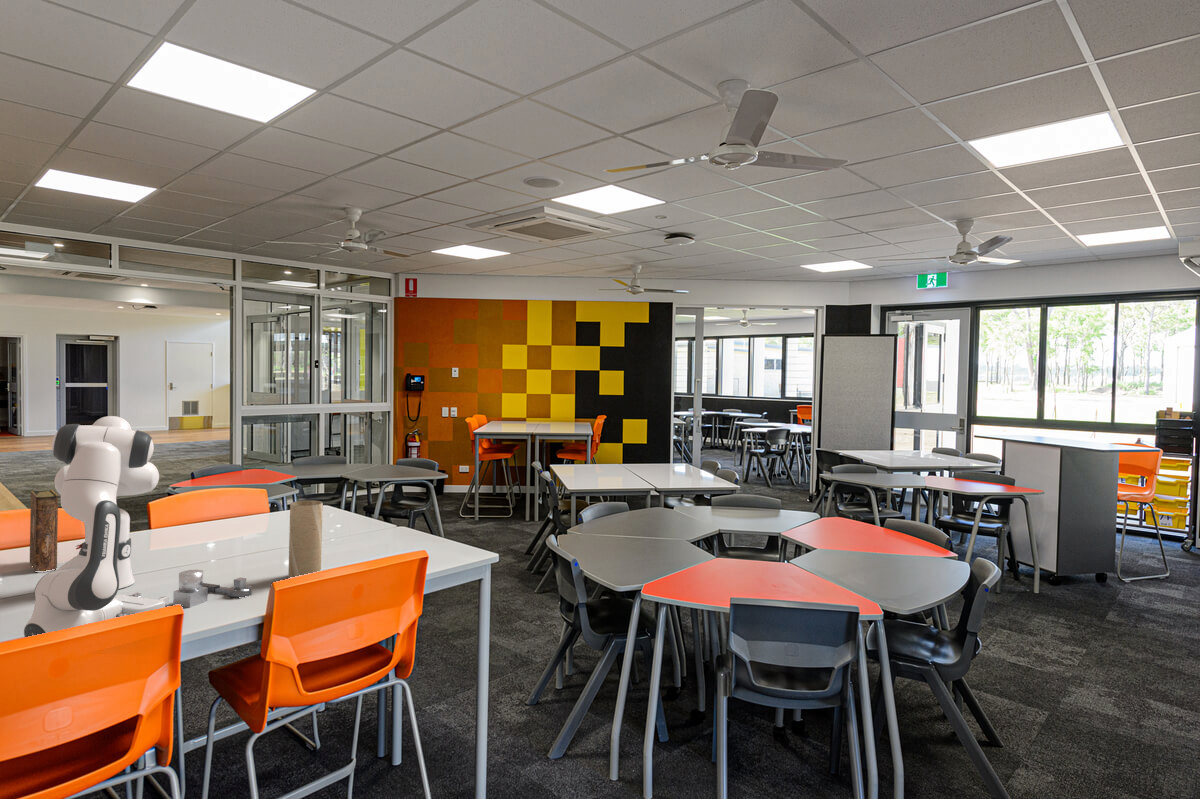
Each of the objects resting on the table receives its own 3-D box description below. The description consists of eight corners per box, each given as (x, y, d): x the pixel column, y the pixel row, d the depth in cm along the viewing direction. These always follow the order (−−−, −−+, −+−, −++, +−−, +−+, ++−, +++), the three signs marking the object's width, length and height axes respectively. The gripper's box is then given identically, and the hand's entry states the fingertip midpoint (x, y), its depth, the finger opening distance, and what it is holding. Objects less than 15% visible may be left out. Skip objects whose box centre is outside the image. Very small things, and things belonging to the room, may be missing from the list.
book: (57, 570, 213) (58, 496, 212) (35, 573, 209) (37, 497, 208) (50, 560, 224) (51, 489, 223) (29, 562, 220) (30, 490, 219)
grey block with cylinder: (173, 605, 185) (173, 574, 185) (191, 598, 191) (191, 568, 191) (190, 607, 184) (190, 576, 183) (207, 600, 189) (208, 570, 189)
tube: (288, 582, 209) (290, 506, 208) (288, 573, 218) (290, 501, 217) (321, 579, 213) (323, 505, 213) (320, 571, 222) (322, 499, 222)
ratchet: (188, 592, 196) (188, 576, 196) (205, 586, 202) (206, 570, 202) (240, 599, 192) (240, 583, 191) (256, 593, 198) (256, 577, 198)
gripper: (135, 607, 159) (183, 590, 173) (72, 597, 164) (124, 582, 178) (135, 632, 159) (183, 613, 173) (71, 622, 164) (123, 604, 178)
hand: (152, 597), depth 175 cm, fingers open, 8 cm apart
